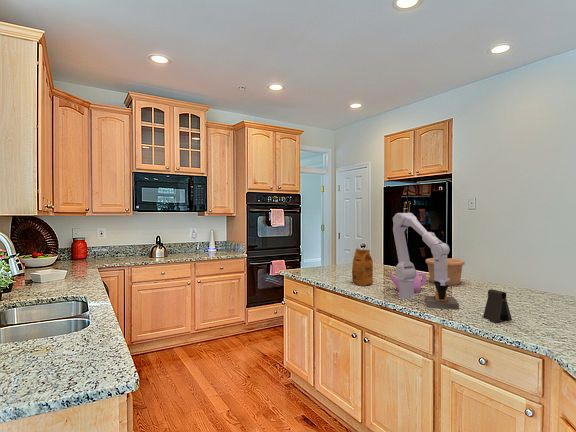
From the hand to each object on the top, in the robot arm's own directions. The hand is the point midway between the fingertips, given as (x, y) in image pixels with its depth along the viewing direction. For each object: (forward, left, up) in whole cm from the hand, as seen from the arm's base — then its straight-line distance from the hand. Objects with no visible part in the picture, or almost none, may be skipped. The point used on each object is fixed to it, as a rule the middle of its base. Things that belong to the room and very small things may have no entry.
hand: (441, 297), depth 162 cm
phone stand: (+17, +19, -4) cm, 26 cm away
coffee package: (-42, -40, -4) cm, 58 cm away
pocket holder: (0, 0, -4) cm, 4 cm away
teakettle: (-32, -14, -4) cm, 35 cm away
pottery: (-55, +9, -4) cm, 56 cm away
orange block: (0, 0, -3) cm, 3 cm away
